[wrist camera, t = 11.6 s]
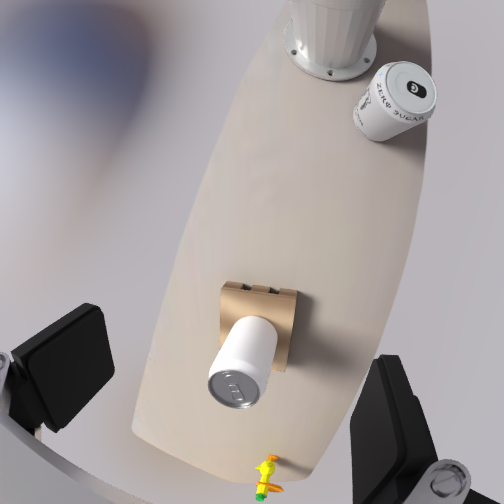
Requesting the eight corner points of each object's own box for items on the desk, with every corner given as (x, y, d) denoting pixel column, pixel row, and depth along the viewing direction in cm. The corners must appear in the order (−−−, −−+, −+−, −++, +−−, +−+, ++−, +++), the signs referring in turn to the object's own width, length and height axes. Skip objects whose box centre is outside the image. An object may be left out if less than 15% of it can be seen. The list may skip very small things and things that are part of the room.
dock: (227, 281, 41) (220, 288, 38) (297, 290, 39) (296, 299, 36) (224, 350, 44) (219, 361, 41) (287, 360, 42) (285, 372, 39)
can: (272, 311, 37) (255, 364, 26) (282, 351, 39) (270, 410, 27) (226, 317, 39) (195, 368, 28) (239, 356, 40) (215, 411, 29)
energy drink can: (358, 92, 31) (385, 44, 17) (400, 109, 30) (447, 75, 16) (346, 131, 33) (370, 101, 18) (388, 149, 32) (436, 133, 18)
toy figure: (290, 457, 49) (283, 501, 37) (284, 464, 50) (277, 507, 38) (261, 449, 49) (249, 494, 38) (256, 457, 50) (244, 499, 39)
